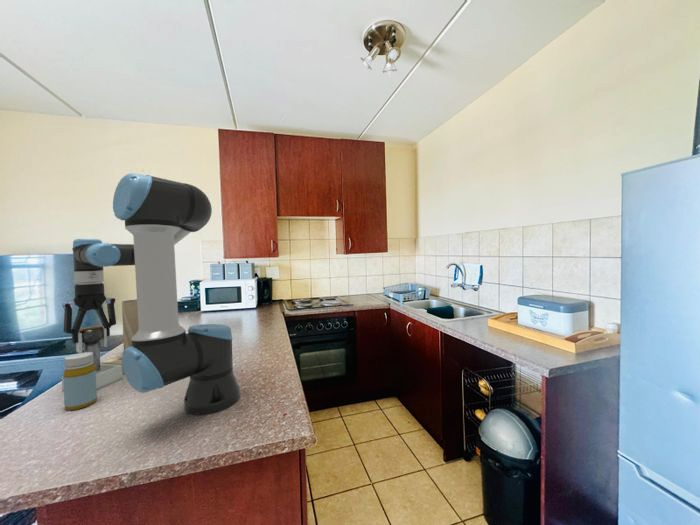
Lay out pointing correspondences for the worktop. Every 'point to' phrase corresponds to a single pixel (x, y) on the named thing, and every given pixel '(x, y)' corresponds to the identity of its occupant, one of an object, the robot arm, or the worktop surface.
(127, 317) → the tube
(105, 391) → the worktop surface
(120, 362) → the eye block
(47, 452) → the worktop surface
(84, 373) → the bottle
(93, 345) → the grey capped post
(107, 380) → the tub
